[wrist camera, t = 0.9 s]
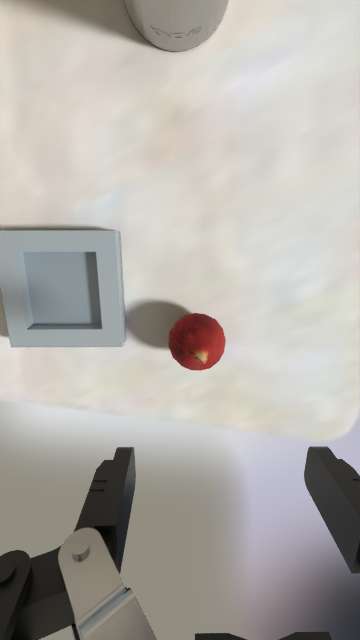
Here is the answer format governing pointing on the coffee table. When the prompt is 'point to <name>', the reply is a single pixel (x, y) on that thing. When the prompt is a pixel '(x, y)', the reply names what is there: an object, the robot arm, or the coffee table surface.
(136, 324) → the coffee table surface
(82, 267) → the base plate
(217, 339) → the onion
